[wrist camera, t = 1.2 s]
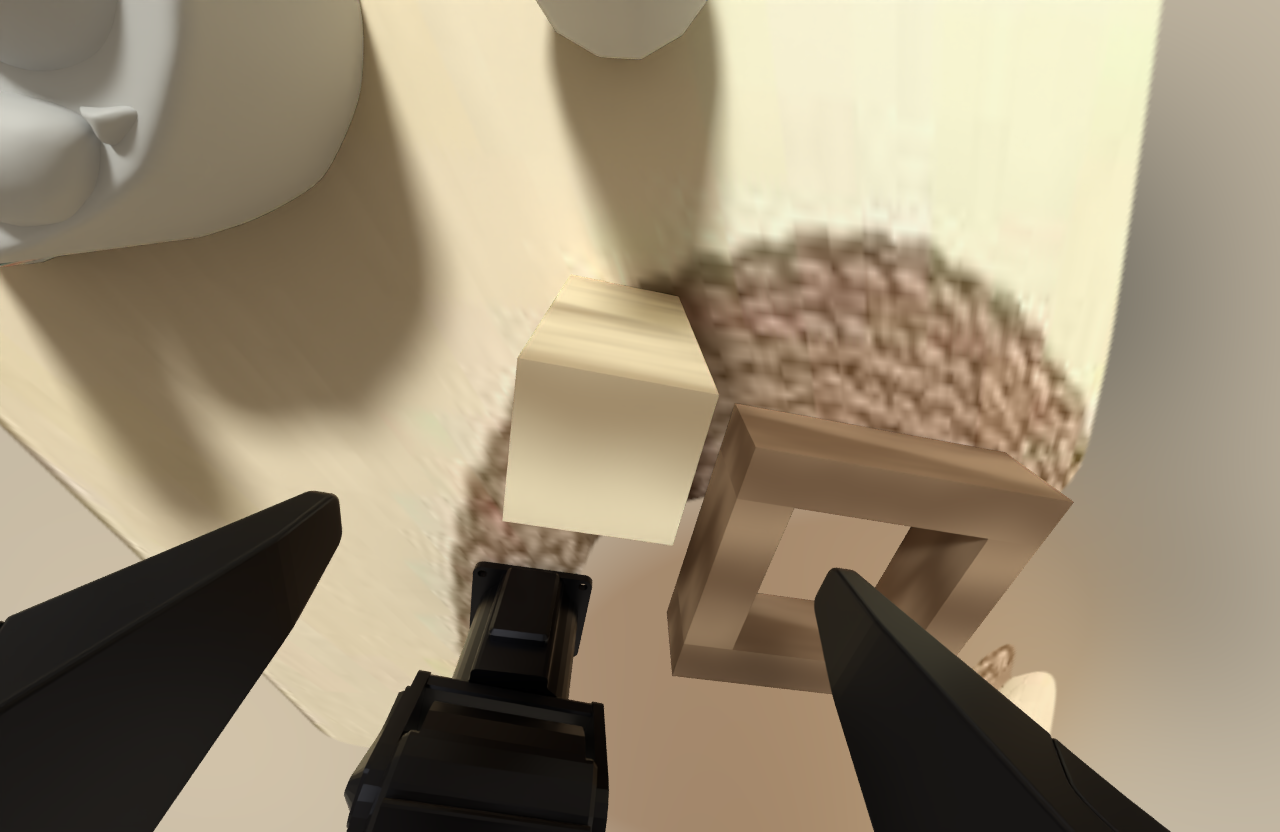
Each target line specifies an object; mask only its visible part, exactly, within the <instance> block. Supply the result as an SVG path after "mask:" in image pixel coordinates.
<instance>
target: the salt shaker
mask: <svg viewBox="0 0 1280 832" xmlns="http://www.w3.org/2000/svg"><path fill="white" fill-rule="evenodd" d="M536 1H537V3H538V5H539V6H540V8H541V9H542V11H543V12H544V14H545V15H546V17H547V19H548V20H549V22H550V23H551V25H552V26H553V28H554V30H555V31H556V32H557V33H559V34H560V35H562V36H564V37H565V38H567V39H569V40H571V41H572V42H574V43H576V44H577V45H579V46H581V47H582V48H584V49H586V50H587V51H589V52H591V53H593V54H594V55H596V56H598V57H608V58H623V59H639V60H641V59H643V58H644V57H646V56H648V55H649V54H651V53H653V52H655V51H656V50H658V49H660V48H661V47H663V46H665V45H666V44H668V43H670V42H672V41H673V40H675V39H677V38H678V37H680V36H682V35H683V34H684V32H685V31H686V29H687V28H688V27H689V25H690V24H691V22H692V21H693V20H694V18H695V17H696V16H697V14H698V13H699V11H700V10H701V9H702V7H703V6H704V4H705V3H706V2H707V0H536Z"/></svg>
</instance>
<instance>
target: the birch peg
mask: <svg viewBox="0 0 1280 832" xmlns="http://www.w3.org/2000/svg"><path fill="white" fill-rule="evenodd" d="M718 397H719V393H718V391H717V389H716V386H715V384H714V381H713V379H712V377H711V374H710V372H709V369H708V367H707V364H706V362H705V360H704V357H703V355H702V352H701V350H700V348H699V345H698V343H697V340H696V338H695V335H694V333H693V331H692V328H691V326H690V323H689V321H688V319H687V316H686V314H685V311H684V309H683V306H682V304H681V302H680V299H679V297H678V296H673V295H668V294H663V293H659V292H654V291H649V290H644V289H639V288H634V287H629V286H624V285H619V284H615V283H610V282H605V281H600V280H595V279H590V278H585V277H580V276H576V275H570V277H569V278H568V280H567V281H566V283H565V285H564V286H563V288H562V289H561V291H560V292H559V294H558V295H557V297H556V299H555V300H554V302H553V303H552V305H551V306H550V308H549V310H548V311H547V313H546V314H545V316H544V317H543V319H542V320H541V322H540V324H539V325H538V327H537V328H536V330H535V331H534V333H533V335H532V336H531V338H530V339H529V341H528V342H527V344H526V345H525V347H524V349H523V350H522V352H521V353H520V355H519V356H518V359H517V370H516V381H515V391H514V402H513V413H512V424H511V435H510V445H509V456H508V467H507V478H506V489H505V499H504V510H503V521H507V522H514V523H521V524H527V525H534V526H541V527H548V528H555V529H562V530H568V531H575V532H582V533H589V534H596V535H603V536H609V537H617V538H623V539H630V540H637V541H644V542H650V543H657V544H665V545H671V546H673V543H674V540H675V536H676V533H677V530H678V527H679V524H680V520H681V517H682V513H683V511H684V507H685V504H686V501H687V498H688V494H689V491H690V488H691V485H692V481H693V478H694V475H695V472H696V468H697V465H698V462H699V459H700V455H701V452H702V449H703V446H704V442H705V439H706V436H707V432H708V429H709V426H710V423H711V419H712V416H713V413H714V410H715V406H716V403H717V400H718Z"/></svg>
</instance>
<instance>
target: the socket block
mask: <svg viewBox="0 0 1280 832" xmlns="http://www.w3.org/2000/svg"><path fill="white" fill-rule="evenodd" d="M1073 503H1074V502H1073V501H1072V500H1070V499H1069V498H1067V497H1066V496H1065V495H1063V494H1062V493H1061V492H1059V491H1058V490H1056V489H1055V488H1054V487H1052V486H1051V485H1049V484H1048V483H1047V482H1045V481H1044V480H1043V479H1041V478H1040V477H1038V476H1037V475H1036V474H1034V473H1033V472H1032V471H1030V470H1029V469H1027V468H1026V467H1025V466H1023V465H1022V464H1020V463H1019V462H1018V461H1016V460H1015V459H1014V458H1012V457H1011V456H1009V455H1008V454H1007V453H1005V452H999V451H994V450H989V449H983V448H978V447H972V446H967V445H961V444H956V443H950V442H945V441H939V440H934V439H928V438H923V437H917V436H912V435H906V434H901V433H895V432H890V431H884V430H879V429H873V428H868V427H862V426H857V425H851V424H846V423H840V422H835V421H829V420H824V419H818V418H813V417H808V416H802V415H797V414H791V413H786V412H780V411H775V410H769V409H764V408H758V407H753V406H747V405H742V404H736V403H735V405H734V408H733V411H732V415H731V418H730V421H729V424H728V427H727V430H726V433H725V436H724V439H723V442H722V445H721V448H720V451H719V454H718V457H717V460H716V463H715V467H714V470H713V473H712V476H711V479H710V482H709V485H708V488H707V491H706V494H705V497H704V500H703V503H702V506H701V510H700V512H699V516H698V519H697V522H696V525H695V528H694V531H693V534H692V537H691V540H690V543H689V546H688V549H687V552H686V556H685V558H684V561H683V565H682V567H681V571H680V574H679V577H678V580H677V583H676V586H675V589H674V592H673V595H672V598H671V601H670V604H669V607H668V611H667V619H668V630H669V643H670V655H671V665H672V676H679V677H687V678H697V679H705V680H714V681H722V682H731V683H739V684H748V685H757V686H765V687H774V688H782V689H791V690H800V691H809V692H817V693H826V694H832V692H831V688H830V684H829V679H828V675H827V670H826V665H825V660H824V655H823V650H822V646H821V641H820V636H819V631H818V626H817V621H816V616H815V611H814V601H811V600H805V599H797V598H789V597H783V596H775V595H768V594H761V593H757V592H758V590H759V588H760V585H761V583H762V581H763V578H764V576H765V574H766V571H767V569H768V567H769V565H770V562H771V560H772V558H773V556H774V553H775V551H776V549H777V547H778V544H779V542H780V540H781V537H782V535H783V533H784V531H785V528H786V526H787V524H788V521H789V519H790V517H791V515H792V512H793V510H794V508H798V509H805V510H811V511H817V512H824V513H829V514H836V515H842V516H849V517H855V518H861V519H867V520H873V521H880V522H886V523H892V524H899V525H905V526H911V528H910V530H909V531H908V533H907V535H906V536H905V538H904V540H903V541H902V543H901V545H900V547H899V548H898V550H897V551H896V553H895V555H894V557H893V558H892V560H891V562H890V563H889V565H888V567H887V569H886V570H885V572H884V574H883V575H882V577H881V579H880V580H879V582H878V584H877V585H876V587H875V588H876V589H877V590H878V591H879V592H880V593H882V594H883V595H884V596H885V597H886V598H888V599H889V600H890V601H891V602H892V603H894V604H895V605H896V606H897V607H898V608H900V609H901V610H902V611H903V612H904V613H906V614H907V615H908V616H909V617H910V618H912V619H913V620H914V621H915V622H916V623H918V624H919V625H920V626H921V627H922V628H924V629H925V630H926V631H927V632H928V633H930V634H931V635H932V636H933V637H934V638H936V639H937V640H938V641H939V642H940V643H942V644H943V645H944V646H945V647H946V648H948V649H949V650H950V651H951V652H952V653H954V654H955V655H956V656H957V654H958V653H959V652H960V650H961V649H962V648H963V646H964V645H965V644H966V642H967V641H968V640H969V639H970V637H971V636H972V635H973V633H974V632H975V631H976V630H977V628H978V627H979V626H980V624H981V623H982V622H983V620H984V619H985V618H986V616H987V615H988V614H989V613H990V611H991V610H992V609H993V607H994V606H995V605H996V603H997V602H998V601H999V599H1000V598H1001V597H1002V595H1003V594H1004V593H1005V591H1006V590H1007V589H1008V588H1009V586H1010V585H1011V584H1012V582H1013V581H1014V580H1015V578H1016V577H1017V576H1018V575H1019V573H1020V572H1021V571H1022V569H1023V568H1024V567H1025V565H1026V564H1027V563H1028V561H1029V560H1030V559H1031V558H1032V556H1033V555H1034V553H1035V552H1036V551H1037V550H1038V548H1039V547H1040V545H1041V544H1042V543H1043V542H1044V541H1045V539H1046V538H1047V537H1048V535H1049V534H1050V533H1051V531H1052V530H1053V529H1054V527H1055V526H1056V525H1057V523H1058V522H1059V521H1060V519H1061V518H1062V517H1063V516H1064V514H1065V513H1066V512H1067V510H1068V509H1069V508H1070V506H1071V505H1072V504H1073Z"/></svg>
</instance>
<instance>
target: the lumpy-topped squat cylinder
mask: <svg viewBox="0 0 1280 832" xmlns="http://www.w3.org/2000/svg"><path fill="white" fill-rule="evenodd" d="M363 55H364V37H363V22H362V13H361V6H360V1H359V0H0V264H1V263H9V262H17V261H24V260H32V259H39V258H47V257H55V256H62V255H70V254H78V253H85V252H93V251H101V250H109V249H116V248H124V247H132V246H139V245H147V244H155V243H162V242H170V241H177V240H185V239H193V238H198V237H203V236H207V235H210V234H213V233H216V232H219V231H222V230H225V229H228V228H231V227H235V226H238V225H241V224H244V223H246V222H249V221H251V220H254V219H256V218H258V217H261V216H263V215H265V214H267V213H269V212H271V211H273V210H275V209H277V208H279V207H281V206H283V205H284V204H286V203H288V202H290V201H292V200H293V199H295V198H297V197H298V196H300V195H301V194H303V193H304V192H306V191H307V190H309V189H310V188H311V187H313V186H314V185H315V184H316V183H317V182H318V181H319V180H320V179H321V178H322V177H323V176H324V175H325V173H326V172H327V170H328V169H329V167H330V165H331V164H332V162H333V160H334V158H335V156H336V154H337V152H338V150H339V148H340V146H341V144H342V142H343V140H344V137H345V135H346V133H347V130H348V128H349V126H350V123H351V121H352V118H353V115H354V112H355V109H356V106H357V103H358V99H359V95H360V90H361V83H362V73H363Z"/></svg>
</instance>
